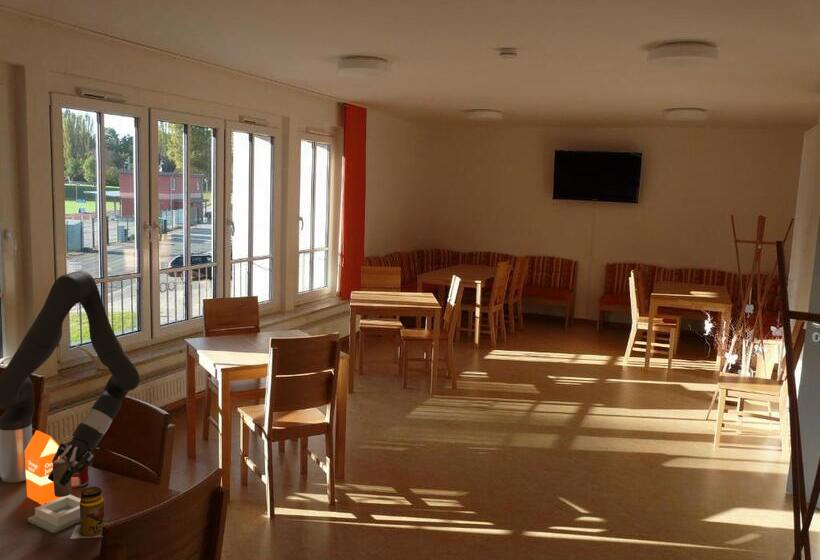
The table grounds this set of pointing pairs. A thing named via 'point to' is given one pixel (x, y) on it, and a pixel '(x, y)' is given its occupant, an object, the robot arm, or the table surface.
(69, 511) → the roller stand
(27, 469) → the orange juice
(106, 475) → the table surface
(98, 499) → the condiment
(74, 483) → the soda can
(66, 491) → the roller
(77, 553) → the table surface
